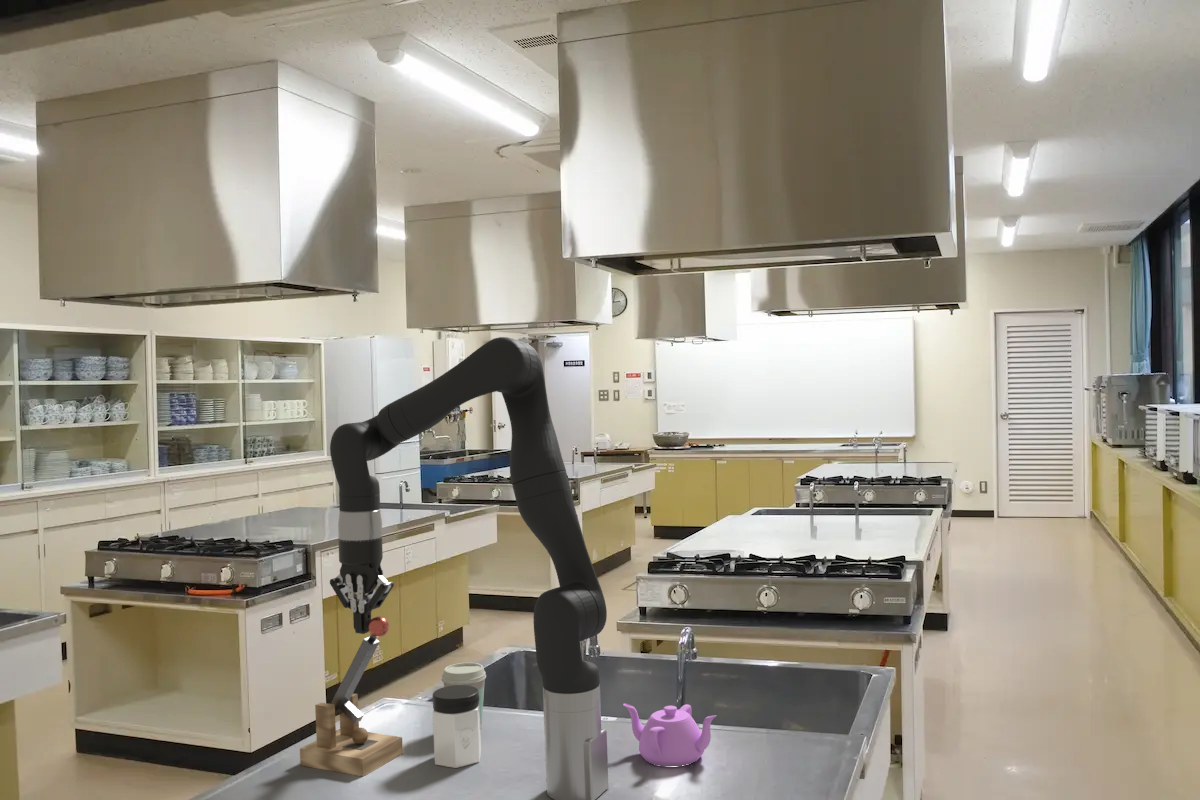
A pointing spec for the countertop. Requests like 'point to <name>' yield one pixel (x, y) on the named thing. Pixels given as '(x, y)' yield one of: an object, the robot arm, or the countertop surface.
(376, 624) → the lever
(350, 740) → the cracker base
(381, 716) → the countertop surface
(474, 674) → the coffee cup
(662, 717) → the teapot
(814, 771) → the countertop surface
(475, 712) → the jar
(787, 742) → the countertop surface
